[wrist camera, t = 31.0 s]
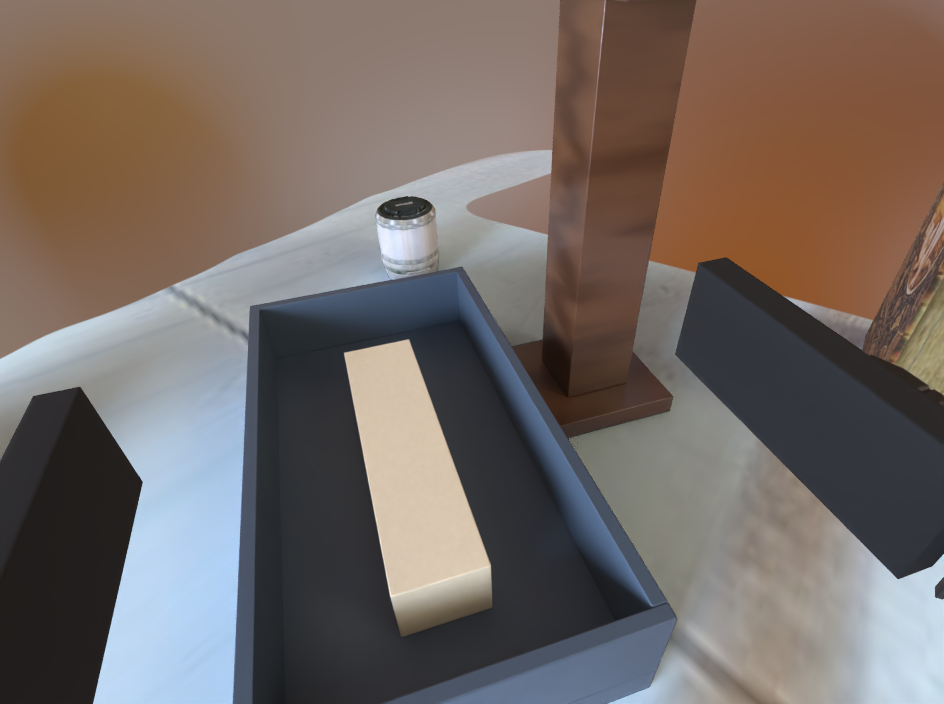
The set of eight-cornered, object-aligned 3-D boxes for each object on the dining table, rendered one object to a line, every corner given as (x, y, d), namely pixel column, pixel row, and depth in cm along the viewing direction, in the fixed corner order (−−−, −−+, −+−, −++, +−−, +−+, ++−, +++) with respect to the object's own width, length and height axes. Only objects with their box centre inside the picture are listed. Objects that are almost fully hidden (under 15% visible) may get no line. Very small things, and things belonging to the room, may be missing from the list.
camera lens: (377, 265, 61) (366, 199, 56) (428, 252, 63) (421, 187, 58) (394, 290, 57) (384, 221, 52) (449, 276, 59) (444, 207, 54)
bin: (273, 373, 46) (249, 305, 42) (466, 332, 50) (462, 266, 46) (282, 829, 22) (229, 780, 18) (650, 687, 26) (678, 618, 22)
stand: (495, 348, 48) (487, -110, 29) (596, 326, 50) (651, -115, 31) (560, 463, 37) (617, -143, 18) (685, 428, 39) (854, -148, 20)
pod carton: (353, 393, 41) (343, 352, 38) (414, 379, 42) (409, 338, 40) (401, 638, 26) (390, 596, 24) (492, 608, 27) (491, 565, 25)
